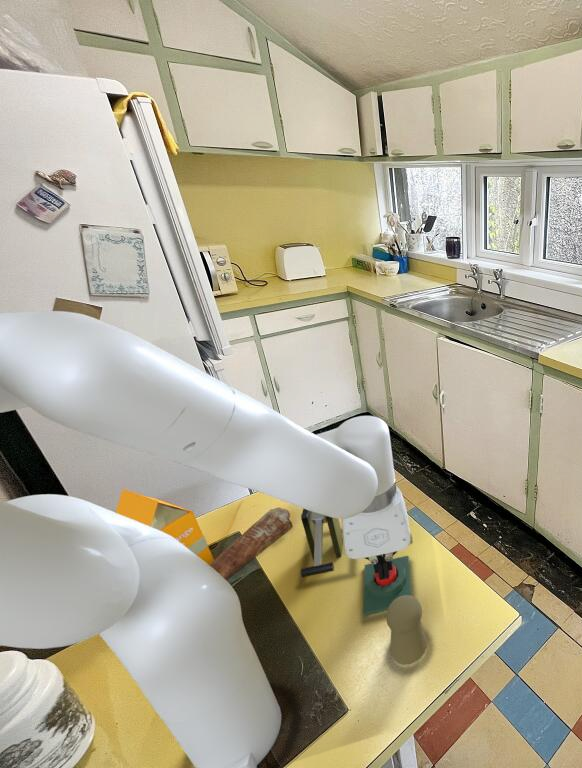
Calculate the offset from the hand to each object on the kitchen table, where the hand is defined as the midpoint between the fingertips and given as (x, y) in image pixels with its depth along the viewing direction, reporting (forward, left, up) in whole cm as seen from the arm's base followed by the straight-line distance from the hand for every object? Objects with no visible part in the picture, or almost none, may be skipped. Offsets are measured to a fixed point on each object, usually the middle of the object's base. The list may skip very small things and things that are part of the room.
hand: (384, 572), depth 73 cm
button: (0, 0, -2) cm, 2 cm away
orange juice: (+13, +37, -5) cm, 39 cm away
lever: (+7, +11, +3) cm, 13 cm away
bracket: (+11, +11, -5) cm, 16 cm away
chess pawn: (-12, -3, -5) cm, 13 cm away
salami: (+14, +26, -5) cm, 30 cm away
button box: (0, 0, -5) cm, 5 cm away
